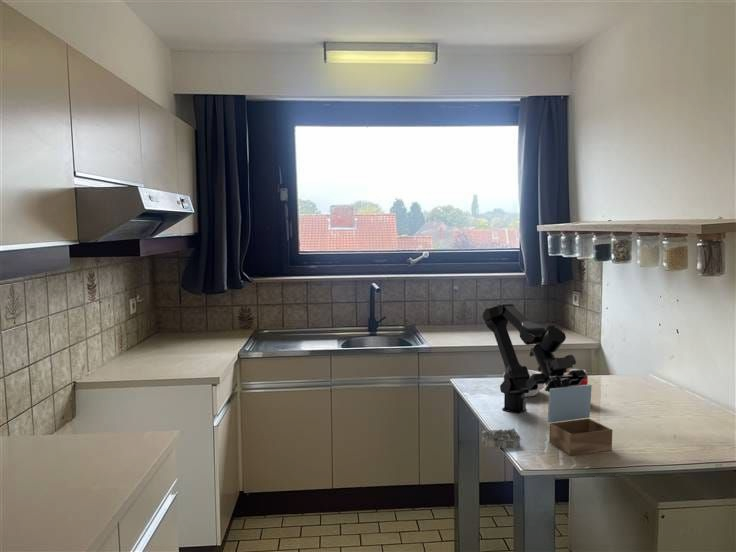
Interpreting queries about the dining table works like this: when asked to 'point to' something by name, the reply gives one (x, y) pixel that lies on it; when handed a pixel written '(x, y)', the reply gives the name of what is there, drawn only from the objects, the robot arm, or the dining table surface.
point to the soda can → (585, 381)
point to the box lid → (569, 403)
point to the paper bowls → (540, 386)
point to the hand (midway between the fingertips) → (568, 404)
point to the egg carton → (501, 438)
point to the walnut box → (580, 436)
